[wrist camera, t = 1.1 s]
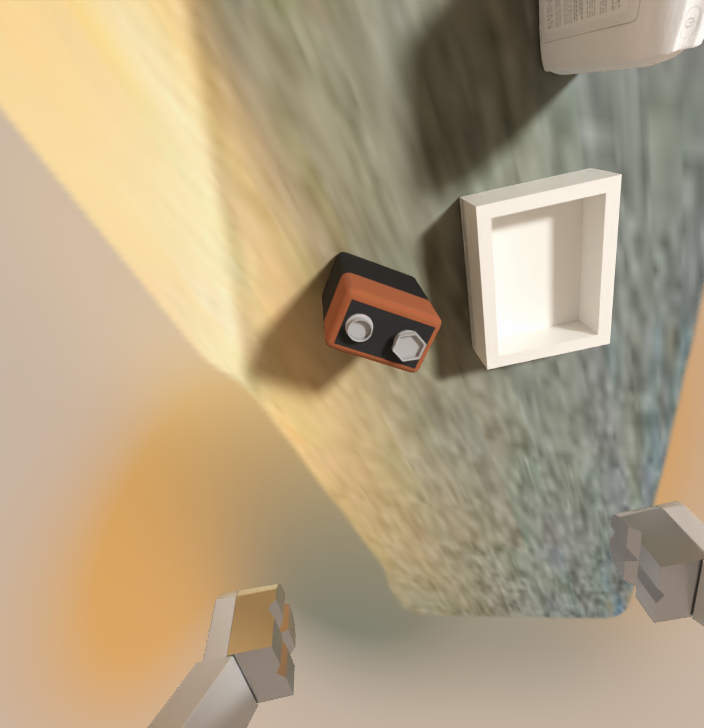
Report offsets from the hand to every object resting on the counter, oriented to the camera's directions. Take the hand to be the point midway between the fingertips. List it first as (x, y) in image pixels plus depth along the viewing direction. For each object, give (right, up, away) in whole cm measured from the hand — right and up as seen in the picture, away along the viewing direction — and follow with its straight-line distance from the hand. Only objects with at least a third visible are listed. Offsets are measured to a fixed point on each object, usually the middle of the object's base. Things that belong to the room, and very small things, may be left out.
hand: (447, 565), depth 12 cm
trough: (+12, +13, +27) cm, 33 cm away
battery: (-1, +11, +27) cm, 30 cm away
